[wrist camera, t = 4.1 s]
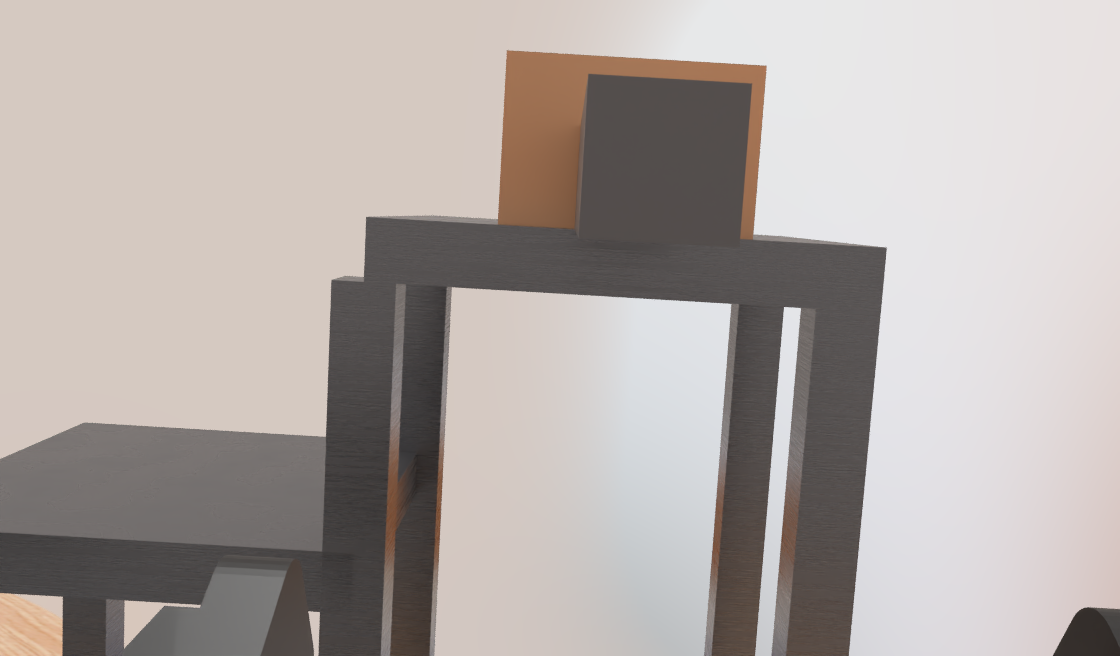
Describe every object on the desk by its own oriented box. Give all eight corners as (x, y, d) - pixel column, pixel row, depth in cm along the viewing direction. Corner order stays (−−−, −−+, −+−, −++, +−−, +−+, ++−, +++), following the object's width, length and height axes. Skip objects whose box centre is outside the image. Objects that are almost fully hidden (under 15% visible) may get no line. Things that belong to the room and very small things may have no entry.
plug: (860, 255, 15) (885, -22, 15) (457, 231, 15) (470, -47, 15) (707, 232, 32) (716, 102, 32) (515, 221, 32) (521, 91, 32)
